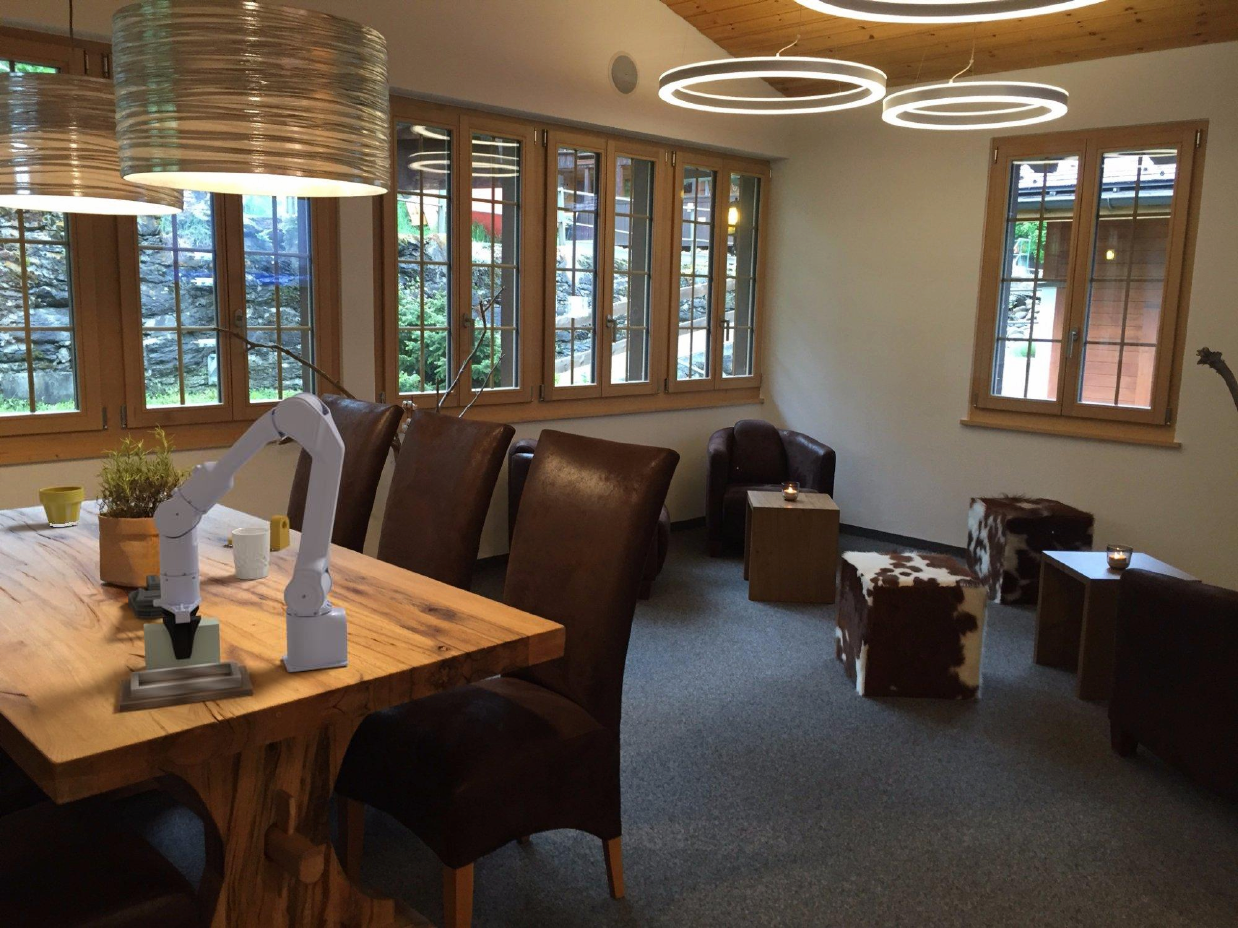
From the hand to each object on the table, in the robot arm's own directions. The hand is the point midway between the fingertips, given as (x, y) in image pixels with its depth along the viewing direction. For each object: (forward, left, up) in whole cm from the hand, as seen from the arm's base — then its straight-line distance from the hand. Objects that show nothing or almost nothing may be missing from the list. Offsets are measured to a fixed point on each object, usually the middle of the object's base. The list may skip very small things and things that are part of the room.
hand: (182, 654), depth 165 cm
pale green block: (0, 0, -2) cm, 2 cm away
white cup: (-16, -56, -2) cm, 58 cm away
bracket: (-20, -85, -2) cm, 87 cm away
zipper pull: (+3, -31, -2) cm, 32 cm away
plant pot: (+24, -127, -2) cm, 129 cm away
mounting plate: (0, +12, -2) cm, 12 cm away
